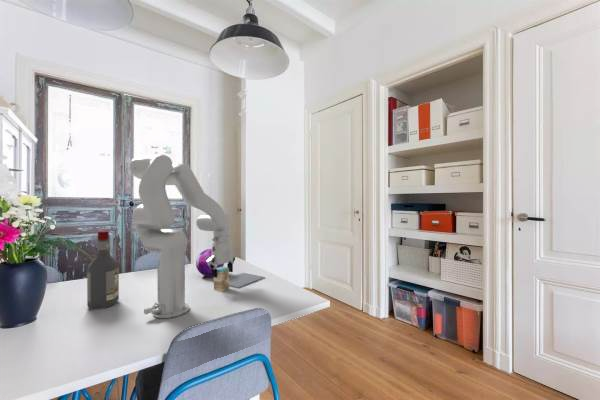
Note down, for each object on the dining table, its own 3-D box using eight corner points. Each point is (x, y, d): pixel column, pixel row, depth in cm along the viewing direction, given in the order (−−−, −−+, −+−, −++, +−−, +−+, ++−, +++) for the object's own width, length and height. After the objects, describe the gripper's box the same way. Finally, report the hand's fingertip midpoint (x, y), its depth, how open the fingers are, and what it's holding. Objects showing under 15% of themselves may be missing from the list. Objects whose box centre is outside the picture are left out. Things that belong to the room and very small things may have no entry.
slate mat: (238, 288, 130) (238, 287, 130) (215, 282, 139) (215, 281, 139) (264, 278, 147) (264, 277, 147) (243, 273, 156) (243, 272, 156)
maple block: (220, 291, 126) (220, 270, 126) (213, 289, 128) (213, 268, 128) (229, 288, 130) (229, 268, 130) (222, 286, 133) (221, 266, 133)
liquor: (84, 310, 105) (84, 233, 105) (95, 301, 114) (95, 230, 113) (111, 307, 107) (111, 232, 107) (120, 299, 116) (120, 230, 116)
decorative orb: (229, 274, 154) (229, 248, 154) (208, 281, 141) (208, 252, 141) (212, 270, 162) (212, 245, 162) (190, 276, 149) (190, 249, 149)
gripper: (212, 242, 120) (213, 280, 121) (240, 237, 135) (241, 270, 135) (201, 241, 124) (202, 278, 125) (229, 235, 139) (230, 268, 139)
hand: (222, 274), depth 130 cm, fingers open, 9 cm apart
